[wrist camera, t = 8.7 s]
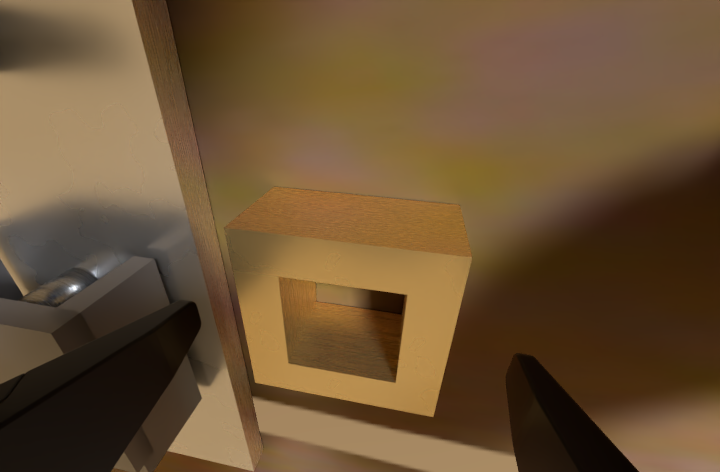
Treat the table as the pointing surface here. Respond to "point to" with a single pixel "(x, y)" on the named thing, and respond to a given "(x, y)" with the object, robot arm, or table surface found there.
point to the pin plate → (116, 186)
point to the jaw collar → (353, 269)
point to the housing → (88, 322)
